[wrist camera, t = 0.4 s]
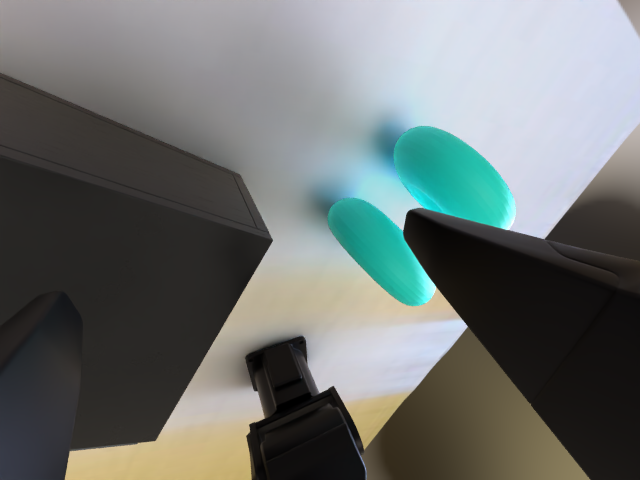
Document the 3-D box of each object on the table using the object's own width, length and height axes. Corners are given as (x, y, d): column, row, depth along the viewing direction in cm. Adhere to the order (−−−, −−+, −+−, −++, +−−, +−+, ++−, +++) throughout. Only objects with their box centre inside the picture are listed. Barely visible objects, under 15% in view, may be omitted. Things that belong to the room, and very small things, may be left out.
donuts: (302, 199, 25) (364, 280, 17) (395, 102, 23) (508, 144, 16) (366, 254, 31) (431, 331, 24) (442, 181, 30) (538, 238, 22)
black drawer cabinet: (156, 340, 27) (155, 441, 20) (-109, 321, 18) (-251, 483, 12) (240, 174, 21) (273, 240, 15) (-75, 40, 13) (-292, 64, 7)
